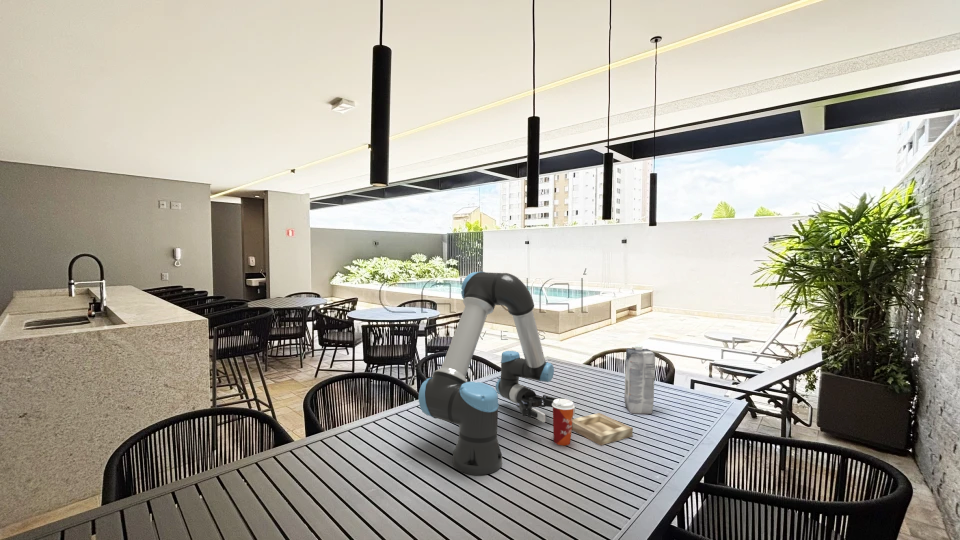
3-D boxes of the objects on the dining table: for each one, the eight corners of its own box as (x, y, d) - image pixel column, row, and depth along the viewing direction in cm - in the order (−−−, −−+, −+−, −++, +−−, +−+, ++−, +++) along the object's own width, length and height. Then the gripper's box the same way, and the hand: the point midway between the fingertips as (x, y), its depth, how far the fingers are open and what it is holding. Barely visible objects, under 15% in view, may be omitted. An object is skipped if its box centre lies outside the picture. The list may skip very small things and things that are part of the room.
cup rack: (600, 445, 139) (600, 436, 139) (568, 427, 153) (568, 420, 153) (632, 436, 147) (632, 428, 147) (599, 420, 161) (599, 412, 161)
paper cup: (567, 449, 136) (568, 407, 135) (546, 442, 140) (547, 402, 140) (577, 441, 142) (578, 401, 141) (557, 435, 146) (558, 396, 146)
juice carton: (655, 415, 168) (657, 349, 167) (629, 414, 168) (631, 349, 167) (646, 407, 177) (649, 345, 176) (622, 406, 177) (624, 344, 176)
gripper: (547, 401, 168) (585, 419, 150) (496, 411, 155) (530, 432, 137) (548, 383, 168) (586, 399, 150) (497, 391, 155) (531, 410, 137)
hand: (559, 415), depth 143 cm, fingers open, 13 cm apart
